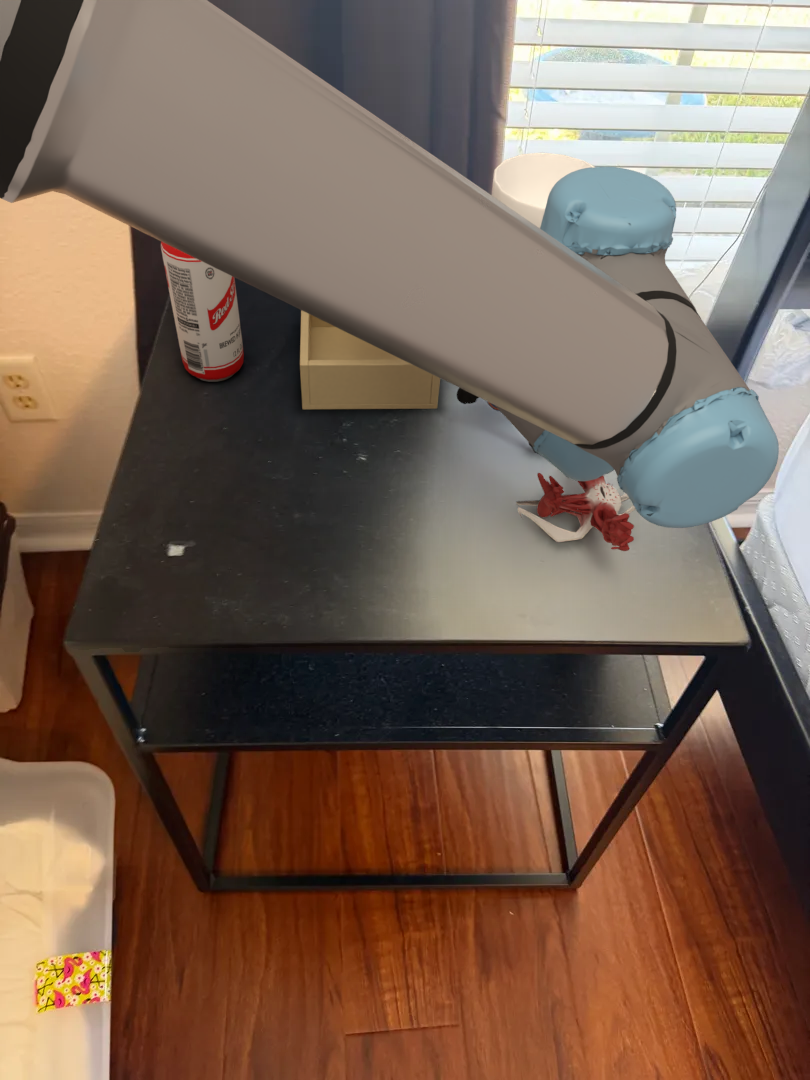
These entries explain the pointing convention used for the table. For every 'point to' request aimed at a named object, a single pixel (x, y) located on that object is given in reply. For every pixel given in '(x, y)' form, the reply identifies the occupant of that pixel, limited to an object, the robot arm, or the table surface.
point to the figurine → (583, 511)
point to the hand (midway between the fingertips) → (339, 191)
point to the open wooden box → (357, 373)
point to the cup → (531, 181)
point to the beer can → (204, 316)
